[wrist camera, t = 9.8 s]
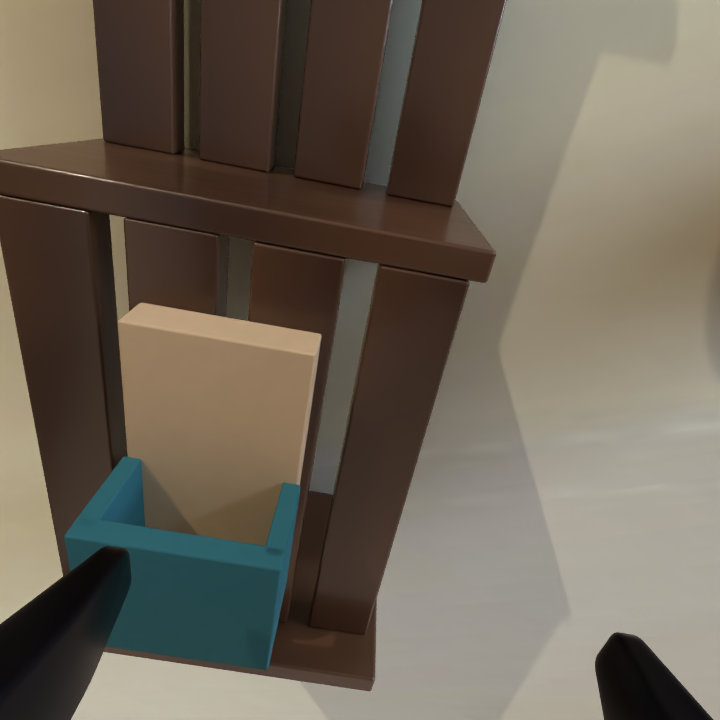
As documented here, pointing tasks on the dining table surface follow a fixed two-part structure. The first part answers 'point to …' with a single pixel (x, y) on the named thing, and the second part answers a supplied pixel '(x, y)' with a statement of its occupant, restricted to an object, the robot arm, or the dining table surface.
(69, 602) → the robot arm
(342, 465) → the shoe rack
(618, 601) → the dining table surface
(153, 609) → the wall mail holder
